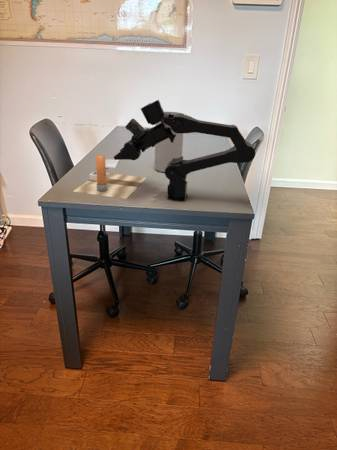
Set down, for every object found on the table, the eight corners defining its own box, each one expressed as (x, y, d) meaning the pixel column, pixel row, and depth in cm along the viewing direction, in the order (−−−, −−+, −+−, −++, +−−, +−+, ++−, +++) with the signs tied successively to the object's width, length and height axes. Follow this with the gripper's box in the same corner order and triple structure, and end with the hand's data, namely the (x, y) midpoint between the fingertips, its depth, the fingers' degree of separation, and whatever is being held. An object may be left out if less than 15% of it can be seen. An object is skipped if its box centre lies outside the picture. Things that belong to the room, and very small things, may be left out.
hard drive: (102, 159, 165) (97, 166, 154) (119, 159, 165) (115, 167, 154) (102, 162, 166) (97, 170, 154) (119, 163, 166) (115, 170, 154)
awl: (109, 188, 128) (107, 155, 123) (104, 192, 125) (103, 158, 119) (99, 187, 129) (97, 154, 123) (95, 191, 126) (92, 157, 120)
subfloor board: (146, 181, 142) (146, 177, 141) (126, 202, 121) (126, 198, 120) (100, 175, 146) (100, 171, 145) (73, 195, 125) (72, 191, 125)
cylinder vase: (150, 166, 160) (151, 112, 149) (174, 164, 165) (177, 111, 153) (160, 174, 150) (161, 116, 139) (185, 172, 155) (189, 116, 143)
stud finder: (107, 178, 138) (107, 172, 137) (103, 181, 135) (103, 175, 133) (94, 177, 139) (93, 171, 138) (89, 180, 136) (89, 174, 135)
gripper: (147, 110, 123) (112, 129, 128) (138, 119, 107) (97, 140, 111) (162, 137, 127) (127, 155, 132) (154, 150, 111) (115, 170, 115)
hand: (117, 154), depth 122 cm, fingers open, 9 cm apart
